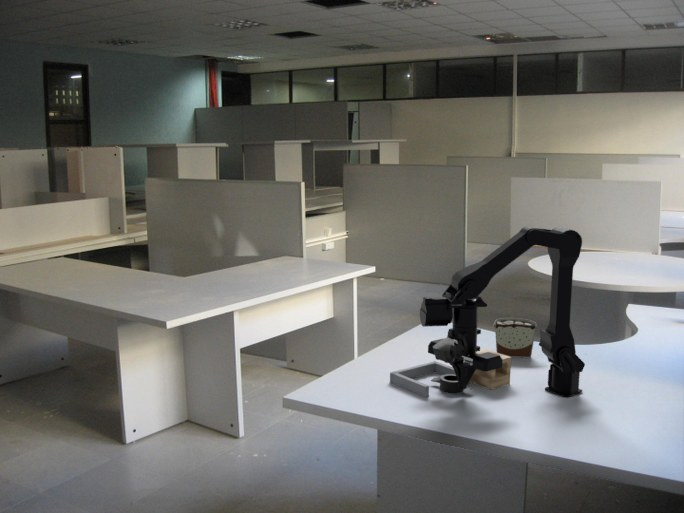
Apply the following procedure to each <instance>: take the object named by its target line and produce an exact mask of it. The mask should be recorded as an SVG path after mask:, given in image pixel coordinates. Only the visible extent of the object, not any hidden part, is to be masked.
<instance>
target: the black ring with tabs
mask: <svg viewBox="0 0 684 513" xmlns="http://www.w3.org/2000/svg"><path fill="white" fill-rule="evenodd" d="M430 382H433V383H438V384H439V390H440V391H441V392H443V393H446V394H452V395H453V394H461V393H463V392H464V391H465V390H466V389H467V390H470V391H471V390H474V388H473V387H469V386H467V387H466V389H464V390H462V389H460V387H459V383H458V380H457V377H456V375H454V374H446V375H441V376H439V377H433V378H432V379H431V380H430Z"/></svg>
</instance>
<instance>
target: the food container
mask: <svg viewBox="0 0 684 513" xmlns="http://www.w3.org/2000/svg"><path fill="white" fill-rule="evenodd" d="M538 328H539V327H538V325H537V322H536V321H534V320H531V319H527V318H523V317H502V318H497V319H495V321H494V322H493V325H492V330H494V331H495V332H494V334H495V346H496V348H495V349H496V351H495V352H497V353H500V354H503V355H506V356H509V357H511V358H521V357H523V358H528V359H532V353H533V348H534V341H535V336H536V331H539V329H538ZM523 358H522V359H523Z"/></svg>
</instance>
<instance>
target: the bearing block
mask: <svg viewBox="0 0 684 513" xmlns="http://www.w3.org/2000/svg"><path fill="white" fill-rule="evenodd" d="M486 352H490V353H494V354H497V355H500V356H501V358H502V367H501V368H498V369H494V370H491V371H481V370H478V369H476V371H475V372H474V374H473V375H472V377H471V384H474V385H477V386H479V387H482V388H485V389H488V390H490V391H492V390H495V389H499V388H502V387H505V386H509V385H510V384H511V369H512V365H511V364H512V357H509V356H506V355H503V354H500V353H497V351H493V350H490V349H486V348H485V349H482V350H480V351H477V352H476V353H477V354H482V353H486Z"/></svg>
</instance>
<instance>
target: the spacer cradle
mask: <svg viewBox="0 0 684 513" xmlns="http://www.w3.org/2000/svg"><path fill="white" fill-rule="evenodd" d="M434 373H436V374H438V375H441V376H442V375H446V374H454V375H456V374H455V371H454V369H453V367H452V366H451V365H447V364H443V363H441V362H439V361H436V360H434V361H429V362H427V363H422V364H418V365H414V366H411V367H407V368H403V369H399V370H395V371H390V372H389V383H391V384H393V385H397V387H400V388H403V389H406V390H408V391H410V392H413V393H414V394H418V395H420V396H422V397H423V398H426V397H429V396H430V386H429V384H428V385H427V384H425V383H423V382H421V381H418V380H416V379H415V378H418V377H423V376H425V375H429V374H434ZM471 384H472V383H471V379H470V381H469V383H468V385H471Z"/></svg>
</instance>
